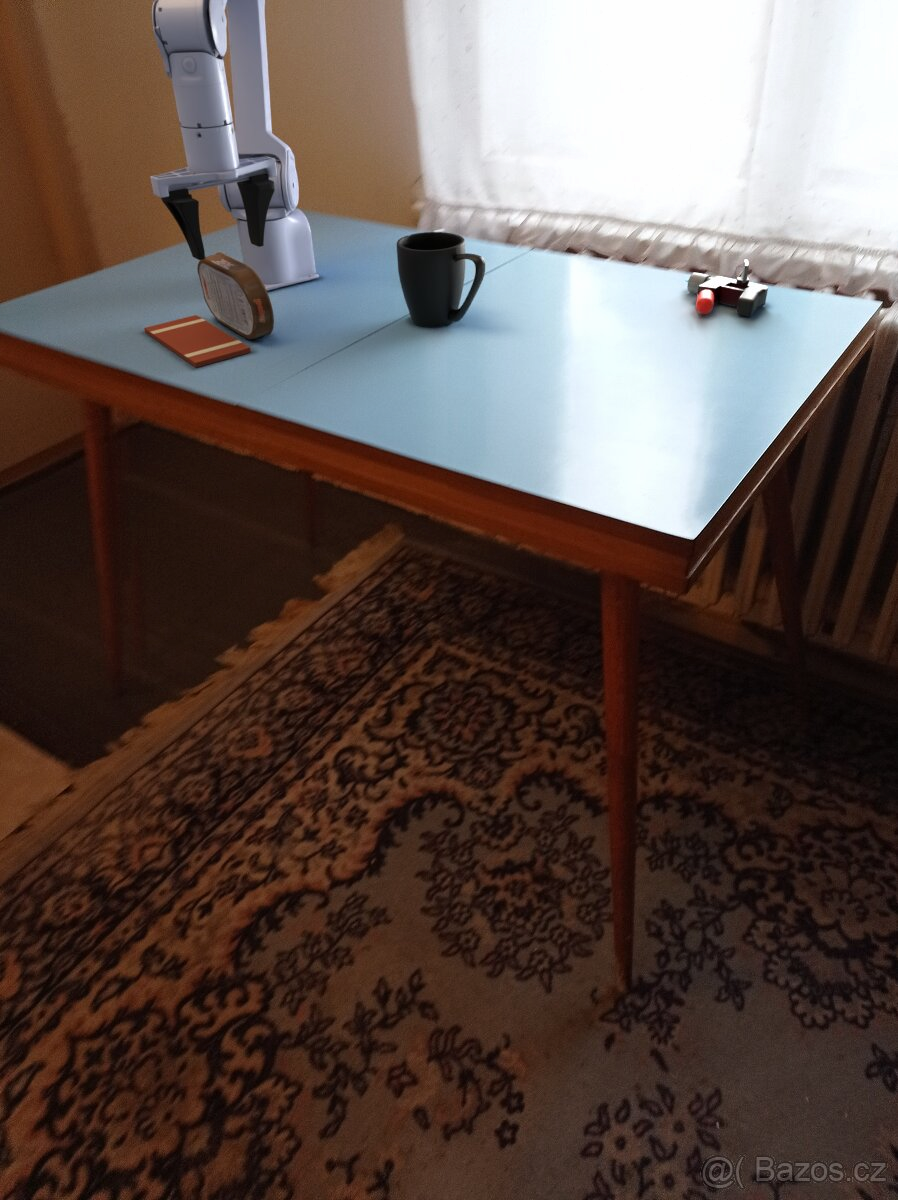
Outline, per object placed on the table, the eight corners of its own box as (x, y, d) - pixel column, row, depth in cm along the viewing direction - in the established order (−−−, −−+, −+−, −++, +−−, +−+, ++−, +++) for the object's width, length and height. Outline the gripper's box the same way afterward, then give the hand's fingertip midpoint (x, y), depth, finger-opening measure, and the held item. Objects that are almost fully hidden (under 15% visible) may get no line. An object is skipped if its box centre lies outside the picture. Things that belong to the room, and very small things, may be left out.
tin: (280, 343, 109) (269, 271, 104) (256, 349, 107) (244, 277, 102) (224, 311, 119) (212, 244, 114) (202, 316, 117) (189, 249, 112)
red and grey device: (690, 286, 121) (694, 249, 118) (774, 304, 114) (782, 265, 111) (651, 306, 115) (655, 267, 112) (738, 326, 109) (745, 286, 106)
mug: (458, 343, 107) (456, 260, 101) (387, 321, 114) (381, 242, 108) (503, 323, 112) (503, 244, 106) (432, 303, 118) (429, 227, 113)
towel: (196, 319, 116) (195, 314, 116) (251, 352, 107) (250, 347, 106) (145, 332, 113) (143, 327, 113) (196, 367, 103) (194, 362, 103)
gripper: (158, 138, 93) (185, 271, 102) (282, 119, 100) (298, 245, 108) (132, 129, 98) (160, 258, 106) (252, 111, 105) (270, 234, 113)
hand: (228, 251), depth 108 cm, fingers open, 7 cm apart
